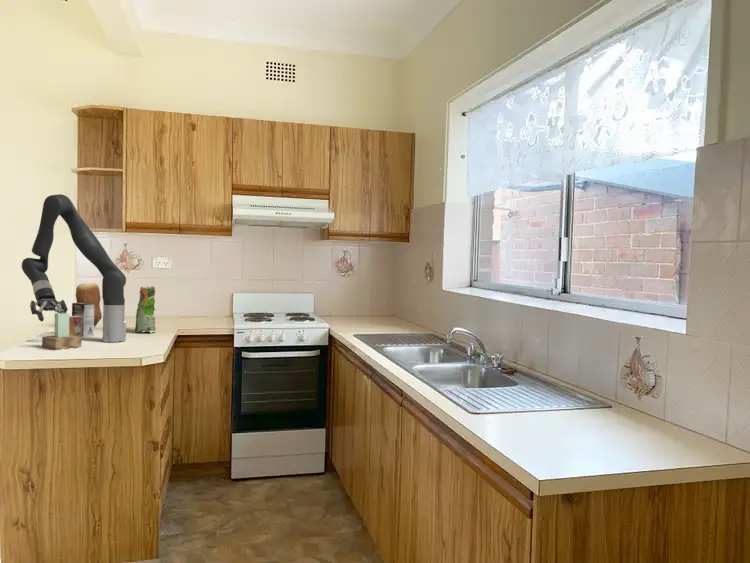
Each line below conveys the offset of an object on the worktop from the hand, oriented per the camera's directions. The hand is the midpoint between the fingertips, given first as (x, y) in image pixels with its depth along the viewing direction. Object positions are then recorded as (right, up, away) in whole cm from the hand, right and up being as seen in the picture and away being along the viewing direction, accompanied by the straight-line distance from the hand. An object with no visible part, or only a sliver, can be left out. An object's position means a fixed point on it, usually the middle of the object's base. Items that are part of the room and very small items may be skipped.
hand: (53, 319), depth 259 cm
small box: (-4, -10, +24) cm, 26 cm away
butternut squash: (-14, -9, +61) cm, 64 cm away
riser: (+7, -12, -6) cm, 15 cm away
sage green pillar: (+7, -7, -6) cm, 11 cm away
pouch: (+21, -10, +51) cm, 56 cm away
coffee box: (-4, -10, +35) cm, 37 cm away
